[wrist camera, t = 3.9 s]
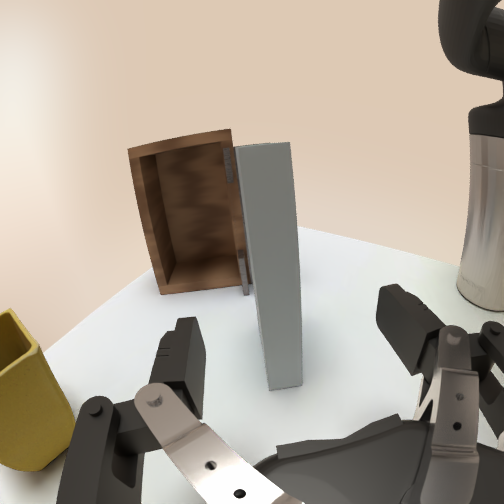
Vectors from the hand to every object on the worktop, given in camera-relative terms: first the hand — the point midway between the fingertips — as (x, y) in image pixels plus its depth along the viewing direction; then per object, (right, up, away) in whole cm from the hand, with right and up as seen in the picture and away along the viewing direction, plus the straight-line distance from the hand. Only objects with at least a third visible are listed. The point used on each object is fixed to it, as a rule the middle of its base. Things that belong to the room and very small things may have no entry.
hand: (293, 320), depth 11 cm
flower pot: (-18, -12, +1) cm, 21 cm away
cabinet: (-8, 0, +26) cm, 27 cm away
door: (0, -5, +10) cm, 12 cm away
